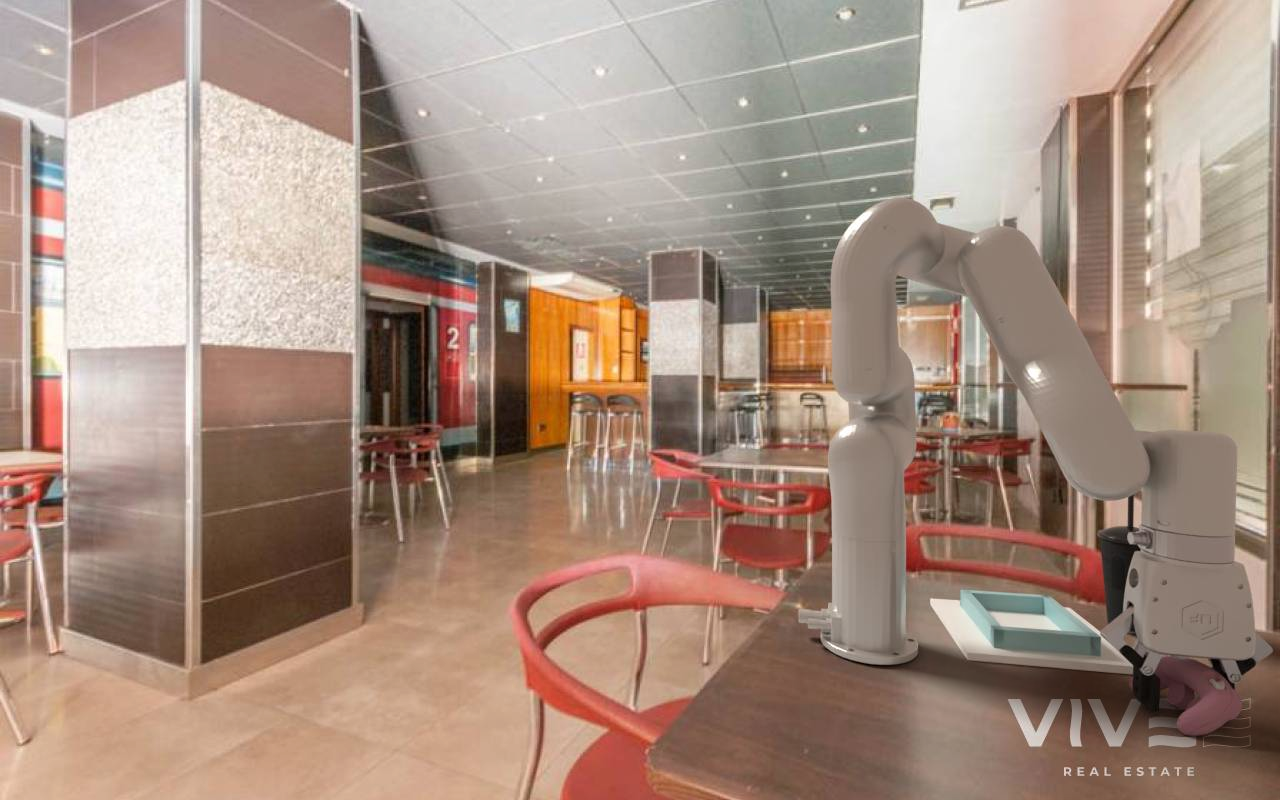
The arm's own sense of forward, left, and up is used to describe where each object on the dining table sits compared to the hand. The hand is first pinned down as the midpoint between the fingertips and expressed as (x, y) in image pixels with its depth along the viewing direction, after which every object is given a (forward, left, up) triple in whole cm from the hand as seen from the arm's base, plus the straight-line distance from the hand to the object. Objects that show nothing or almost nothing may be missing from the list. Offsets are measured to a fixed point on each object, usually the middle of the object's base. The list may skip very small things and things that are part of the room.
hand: (1181, 707), depth 66 cm
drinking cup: (+7, +25, -1) cm, 26 cm away
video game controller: (0, 0, -1) cm, 1 cm away
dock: (-9, +19, -1) cm, 21 cm away
